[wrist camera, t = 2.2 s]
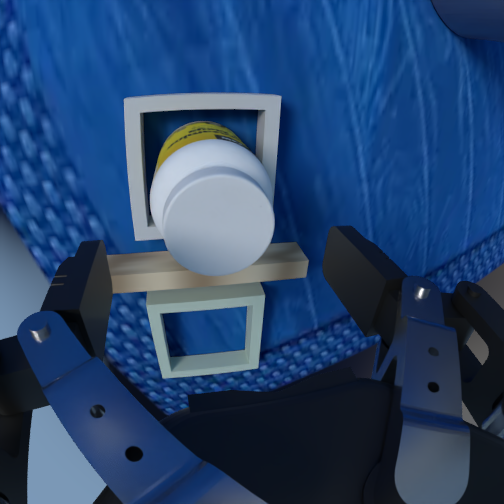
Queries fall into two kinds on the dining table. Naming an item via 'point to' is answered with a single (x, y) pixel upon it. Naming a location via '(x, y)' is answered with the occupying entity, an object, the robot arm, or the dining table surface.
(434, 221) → the dining table surface
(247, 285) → the keeper
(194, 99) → the keeper
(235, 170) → the pill bottle
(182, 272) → the edge strip
